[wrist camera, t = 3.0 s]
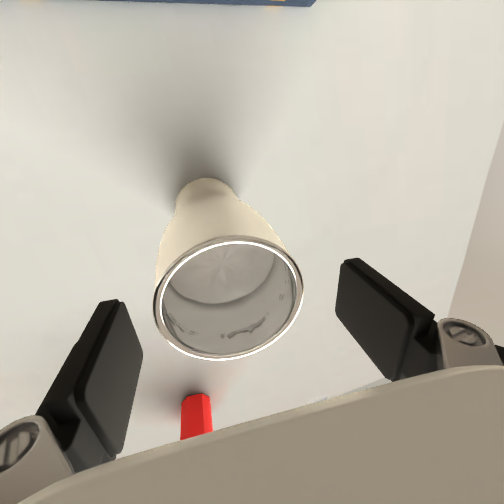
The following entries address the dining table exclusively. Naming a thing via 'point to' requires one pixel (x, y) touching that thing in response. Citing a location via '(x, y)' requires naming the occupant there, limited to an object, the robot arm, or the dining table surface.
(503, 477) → the robot arm
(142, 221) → the dining table surface
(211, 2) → the blue striped flat box
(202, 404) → the french fries
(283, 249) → the beer glass
